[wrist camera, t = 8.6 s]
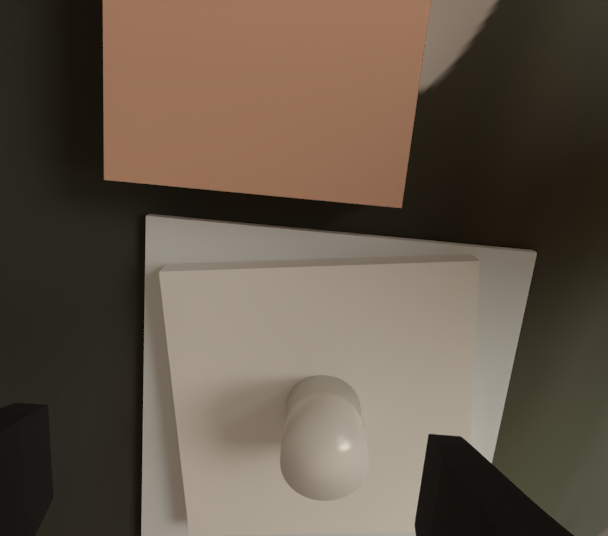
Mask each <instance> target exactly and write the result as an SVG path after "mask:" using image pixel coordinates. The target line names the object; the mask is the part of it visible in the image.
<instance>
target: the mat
mask: <svg viewBox="0 0 608 536" xmlns="http://www.w3.org/2000/svg"><path fill="white" fill-rule="evenodd" d="M448 254H472V255H473V256H475V257H476V258H477V259H478V260H479V261H480V264H479V284H478V304H477V325H476V345H475V366H474V386H473V406H472V427H471V445H472V446H473V447H474V448H475V449H476V450H477V451H478V452H479V453H481V454H482V455H483V456H484V457H485V458H486V459H487V460H488V461H489V462H490V463H491V464H492V460H493V455H494V451H495V446H496V441H497V437H498V432H499V427H500V423H501V418H502V414H503V409H504V404H505V400H506V395H507V390H508V386H509V381H510V376H511V372H512V367H513V362H514V358H515V353H516V349H517V344H518V339H519V335H520V330H521V325H522V321H523V316H524V311H525V307H526V302H527V297H528V293H529V288H530V284H531V279H532V274H533V270H534V265H535V260H536V256H537V252H535V251H533V250H527V249H516V248H506V247H495V246H485V245H474V244H463V243H453V242H442V241H432V240H421V239H411V238H400V237H389V236H379V235H368V234H358V233H347V232H337V231H326V230H315V229H305V228H294V227H284V226H273V225H263V224H252V223H241V222H231V221H220V220H210V219H199V218H189V217H178V216H167V215H157V214H148V215H146V235H145V306H144V376H143V446H142V516H141V536H189V529H188V520H187V511H186V503H185V494H184V486H183V477H182V468H181V460H180V451H179V442H178V434H177V425H176V416H175V408H174V399H173V390H172V382H171V373H170V365H169V356H168V347H167V339H166V330H165V321H164V313H163V304H162V295H161V287H160V278H159V271H160V270H161V269H162V268H163V267H164V266H165V265H166V264H185V263H214V262H243V261H273V260H302V259H331V258H360V257H389V256H419V255H448ZM223 536H416V532H415V531H413V532H366V533H318V534H271V535H223Z"/></svg>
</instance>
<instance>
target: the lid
mask: <svg viewBox="0 0 608 536" xmlns="http://www.w3.org/2000/svg"><path fill="white" fill-rule="evenodd" d="M479 264H480V261H479V260H478V259H477V258H476V257H475V256H473V255H472V254H448V255H419V256H389V257H360V258H331V259H302V260H273V261H243V262H214V263H185V264H166V265H165V266H164V267H163V268H162V269H161V270H160V271H159V278H160V287H161V295H162V304H163V313H164V321H165V330H166V339H167V347H168V356H169V365H170V373H171V382H172V390H173V399H174V408H175V416H176V425H177V434H178V442H179V451H180V460H181V468H182V477H183V486H184V494H185V503H186V511H187V520H188V529H189V536H223V535H271V534H318V533H366V532H413V531H415V525H414V524H415V518H416V511H417V505H418V498H419V492H420V486H421V479H422V473H423V466H424V460H425V454H426V447H427V441H428V434H437V435H450V436H461V437H462V438H464V439H465V440H466V441H467V442H468V443H469V444H471V427H472V406H473V386H474V366H475V345H476V325H477V304H478V284H479Z"/></svg>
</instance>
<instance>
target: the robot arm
mask: <svg viewBox="0 0 608 536" xmlns="http://www.w3.org/2000/svg"><path fill="white" fill-rule="evenodd" d="M52 499H53V486H52V469H51V452H50V435H49V417H48V405H39V404H25V403H14V404H11V405H8V406H5V407H3V408H0V536H35V534H36V532H37V530H38V528H39V526H40V524H41V522H42V520H43V518H44V516H45V514H46V512H47V510H48V507H49V505H50V503H51V501H52ZM414 525H415V532H416V536H574V535H572V534H571V533H570V532H569V531H567V530H566V529H565V528H564V527H562V526H561V525H560V524H559V523H558V522H556V521H555V520H554V519H553V518H552V517H550V516H549V515H548V514H547V513H546V512H545V511H543V510H542V509H541V508H540V507H539V506H538V505H537V504H535V503H534V502H533V501H532V500H531V499H530V498H529V497H527V496H526V495H525V494H524V493H523V492H522V491H521V490H520V489H518V488H517V487H516V486H515V485H514V484H513V483H512V482H511V481H510V480H509V479H508V478H506V477H505V476H504V475H503V474H502V473H501V472H500V471H499V470H498V469H497V468H496V467H495V466H493V465H492V464H491V463H490V462H489V461H488V460H487V459H486V458H485V457H484V456H483V455H482V454H481V453H479V452H478V451H477V450H476V449H475V448H474V447H473V446H472V445H471V444H469V443H468V442H467V441H466V440H465V439H464V438H462V437H461V436H450V435H437V434H428V441H427V447H426V454H425V460H424V466H423V473H422V479H421V486H420V492H419V498H418V505H417V511H416V518H415V524H414Z"/></svg>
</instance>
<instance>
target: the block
mask: <svg viewBox="0 0 608 536" xmlns="http://www.w3.org/2000/svg"><path fill="white" fill-rule="evenodd" d="M430 5H431V0H103V113H104V180H111V181H121V182H132V183H142V184H153V185H163V186H174V187H184V188H195V189H205V190H216V191H226V192H237V193H247V194H258V195H268V196H279V197H289V198H300V199H310V200H321V201H332V202H342V203H353V204H363V205H374V206H384V207H395V208H402V202H403V195H404V188H405V181H406V174H407V167H408V160H409V153H410V146H411V139H412V132H413V125H414V118H415V111H416V104H417V97H418V90H419V82H420V76H421V69H422V62H423V54H424V47H425V41H426V34H427V26H428V19H429V12H430Z"/></svg>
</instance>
